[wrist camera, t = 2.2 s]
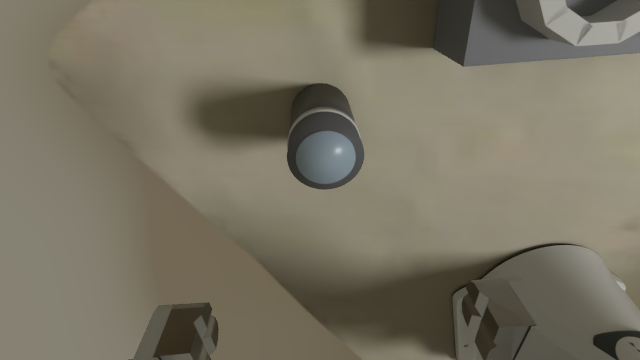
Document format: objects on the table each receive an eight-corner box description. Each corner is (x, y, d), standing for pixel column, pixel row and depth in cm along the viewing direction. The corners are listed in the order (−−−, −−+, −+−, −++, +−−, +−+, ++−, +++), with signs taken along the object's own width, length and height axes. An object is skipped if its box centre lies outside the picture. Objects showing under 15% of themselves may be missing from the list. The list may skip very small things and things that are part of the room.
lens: (350, 137, 26) (364, 188, 20) (294, 141, 26) (290, 194, 20) (349, 80, 23) (365, 118, 17) (287, 85, 23) (281, 125, 17)
